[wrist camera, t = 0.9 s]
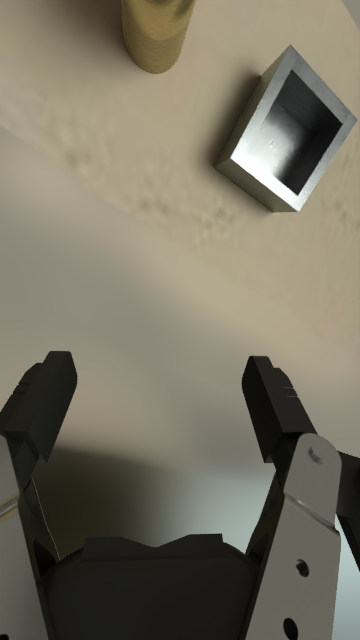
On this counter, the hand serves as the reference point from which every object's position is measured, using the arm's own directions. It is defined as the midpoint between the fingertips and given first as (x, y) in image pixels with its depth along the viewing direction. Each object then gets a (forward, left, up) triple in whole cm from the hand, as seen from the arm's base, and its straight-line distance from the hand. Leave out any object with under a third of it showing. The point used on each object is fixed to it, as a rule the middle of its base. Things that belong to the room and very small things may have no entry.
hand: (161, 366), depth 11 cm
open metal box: (+6, +18, -19) cm, 26 cm away
